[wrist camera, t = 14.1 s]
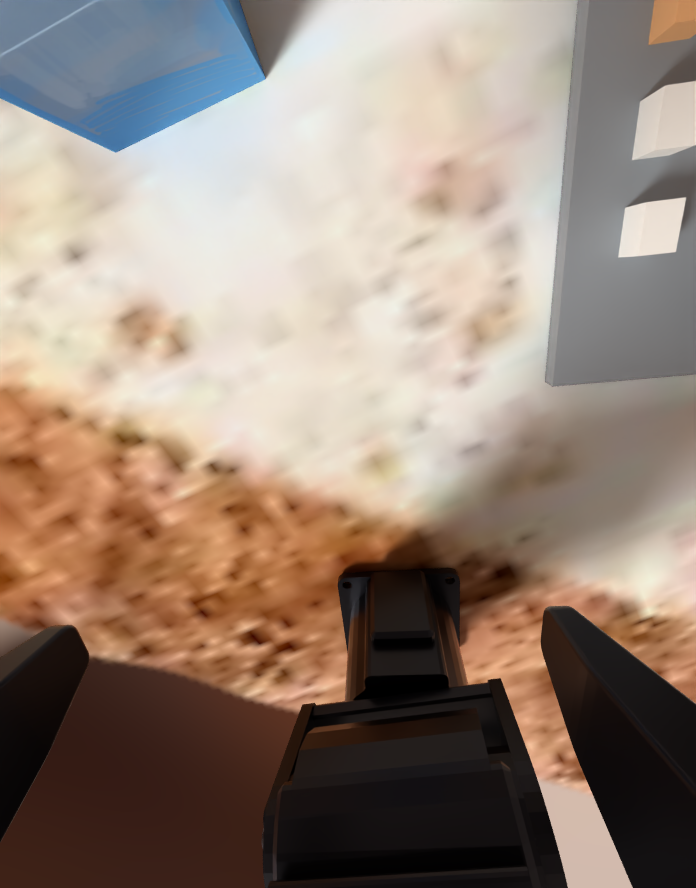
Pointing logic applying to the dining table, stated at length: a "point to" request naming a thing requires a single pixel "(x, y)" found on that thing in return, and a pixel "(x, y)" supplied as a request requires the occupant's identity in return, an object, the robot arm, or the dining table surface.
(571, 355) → the panel
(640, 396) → the dining table surface
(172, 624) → the dining table surface
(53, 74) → the perfume bottle
